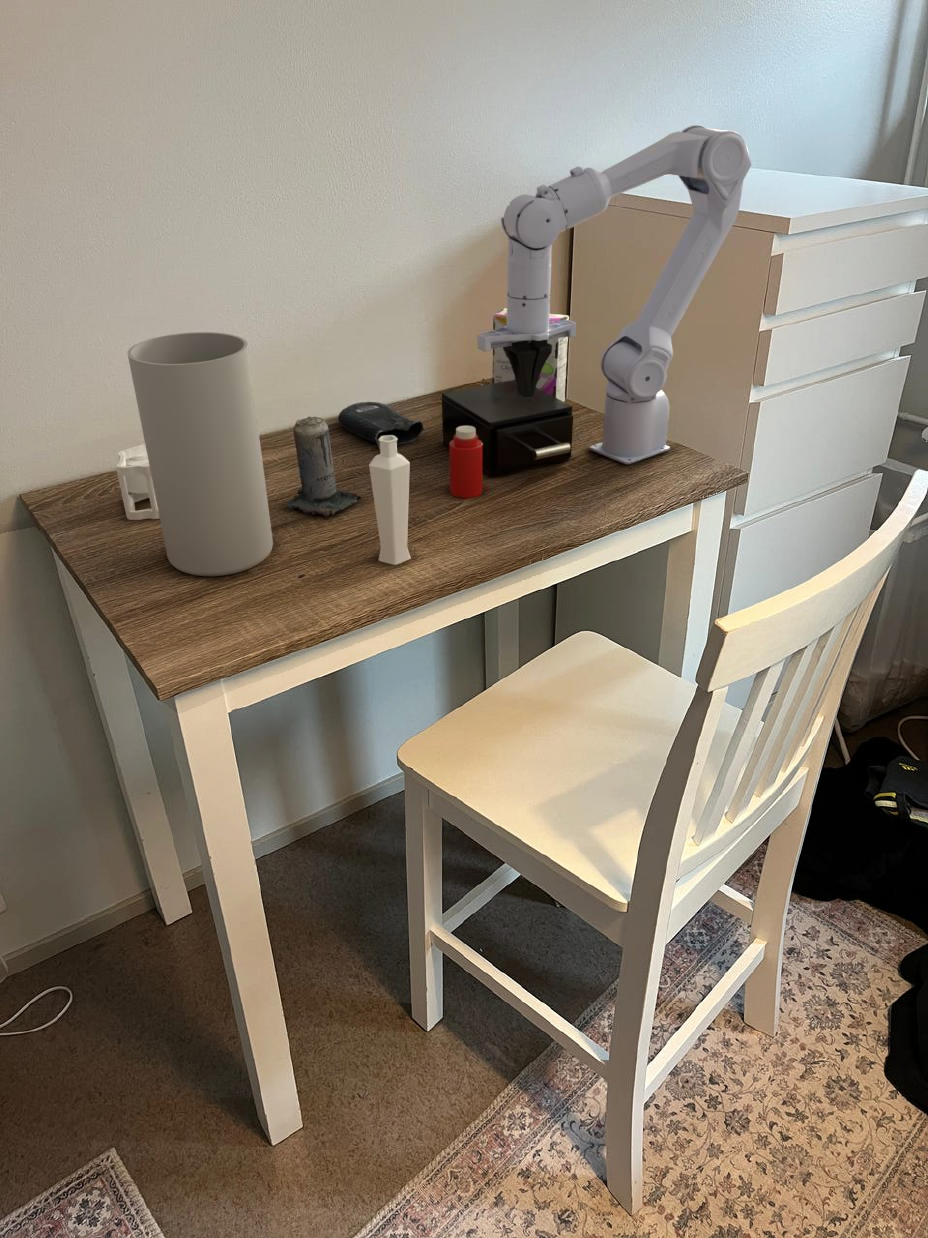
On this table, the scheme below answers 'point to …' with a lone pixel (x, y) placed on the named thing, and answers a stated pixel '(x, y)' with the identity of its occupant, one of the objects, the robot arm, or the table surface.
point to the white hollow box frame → (136, 482)
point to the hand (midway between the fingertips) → (525, 394)
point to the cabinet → (495, 414)
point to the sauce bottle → (465, 463)
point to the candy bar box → (553, 368)
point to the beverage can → (317, 470)
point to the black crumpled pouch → (379, 422)
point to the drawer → (532, 442)
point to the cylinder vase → (203, 450)
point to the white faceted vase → (391, 500)
